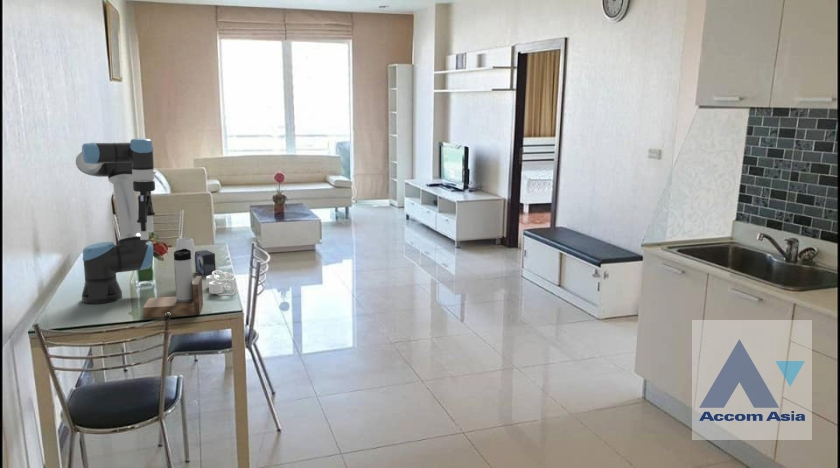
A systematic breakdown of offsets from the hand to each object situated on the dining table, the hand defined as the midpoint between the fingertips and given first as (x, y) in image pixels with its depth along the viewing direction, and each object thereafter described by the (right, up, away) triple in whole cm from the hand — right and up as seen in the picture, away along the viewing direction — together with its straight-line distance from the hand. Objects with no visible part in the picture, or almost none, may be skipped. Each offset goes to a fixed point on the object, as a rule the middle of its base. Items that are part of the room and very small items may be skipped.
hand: (147, 235), depth 239 cm
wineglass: (-1, -22, +43) cm, 48 cm away
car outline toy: (+18, -25, +33) cm, 45 cm away
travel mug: (+12, -25, +6) cm, 29 cm away
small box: (0, -19, +63) cm, 66 cm away
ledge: (+8, -29, +5) cm, 31 cm away
